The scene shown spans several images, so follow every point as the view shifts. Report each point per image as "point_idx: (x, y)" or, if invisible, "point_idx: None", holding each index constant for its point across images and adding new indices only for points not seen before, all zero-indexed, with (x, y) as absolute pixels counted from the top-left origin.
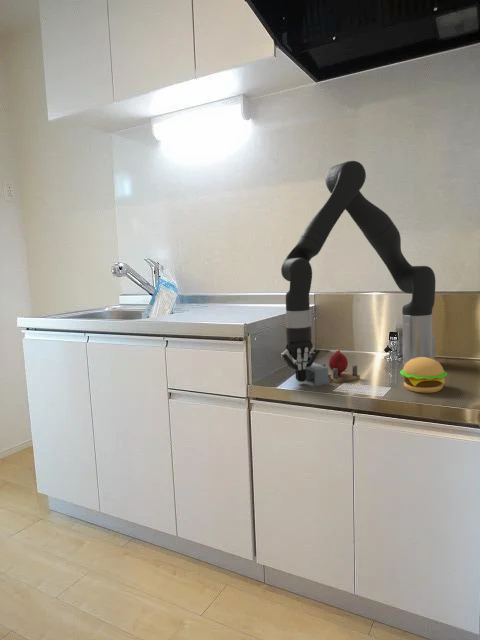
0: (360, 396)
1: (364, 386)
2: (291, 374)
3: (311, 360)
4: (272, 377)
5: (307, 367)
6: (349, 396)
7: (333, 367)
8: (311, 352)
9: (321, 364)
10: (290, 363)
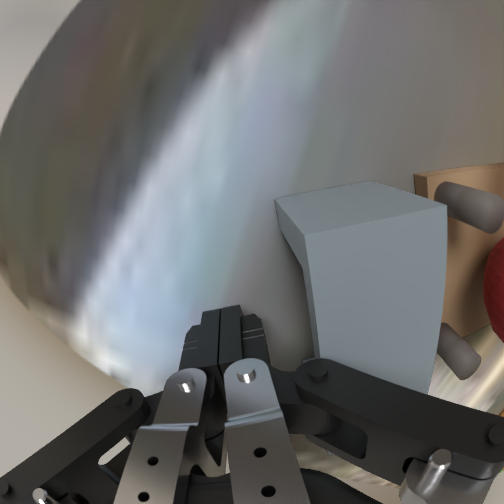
0: (372, 475)
1: (457, 399)
2: (233, 19)
3: (355, 451)
4: (67, 73)
5: (317, 353)
6: (345, 477)
7: (490, 320)
8: (404, 499)
9: (486, 207)
10: (117, 480)
